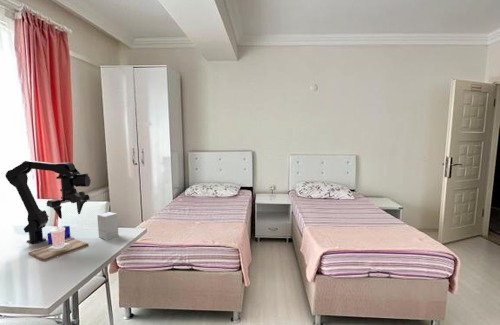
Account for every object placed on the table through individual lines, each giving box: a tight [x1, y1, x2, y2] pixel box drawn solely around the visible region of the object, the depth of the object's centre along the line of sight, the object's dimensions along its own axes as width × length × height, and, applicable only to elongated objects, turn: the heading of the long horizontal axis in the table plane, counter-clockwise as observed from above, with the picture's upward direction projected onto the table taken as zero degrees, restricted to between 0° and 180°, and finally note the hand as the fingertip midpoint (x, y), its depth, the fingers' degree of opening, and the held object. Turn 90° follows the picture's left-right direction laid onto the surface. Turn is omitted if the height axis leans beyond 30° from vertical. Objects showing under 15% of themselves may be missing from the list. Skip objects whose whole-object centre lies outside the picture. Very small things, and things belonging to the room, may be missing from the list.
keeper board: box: [28, 237, 89, 262], centre depth 139 cm, size 14×20×2 cm
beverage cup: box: [49, 218, 66, 249], centre depth 139 cm, size 6×6×14 cm
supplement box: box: [97, 211, 119, 241], centre depth 157 cm, size 7×7×13 cm
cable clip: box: [47, 225, 71, 246], centre depth 152 cm, size 12×4×6 cm, turn 175°
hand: (70, 216), depth 151 cm, fingers open, 9 cm apart
